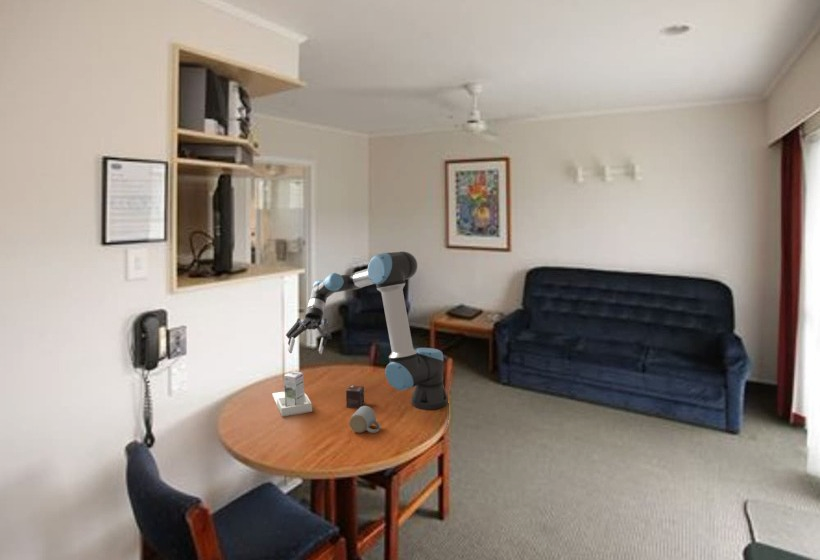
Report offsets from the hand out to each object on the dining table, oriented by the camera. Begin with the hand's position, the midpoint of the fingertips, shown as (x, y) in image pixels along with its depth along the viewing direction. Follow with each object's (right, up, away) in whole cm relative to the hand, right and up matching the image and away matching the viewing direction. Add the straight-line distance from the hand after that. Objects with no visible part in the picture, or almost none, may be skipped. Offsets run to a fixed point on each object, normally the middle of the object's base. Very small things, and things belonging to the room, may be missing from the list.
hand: (304, 352), depth 207 cm
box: (+22, -22, -5) cm, 31 cm away
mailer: (-5, -21, -2) cm, 22 cm away
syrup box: (-2, -22, -9) cm, 23 cm away
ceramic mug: (+29, -25, -28) cm, 47 cm away
